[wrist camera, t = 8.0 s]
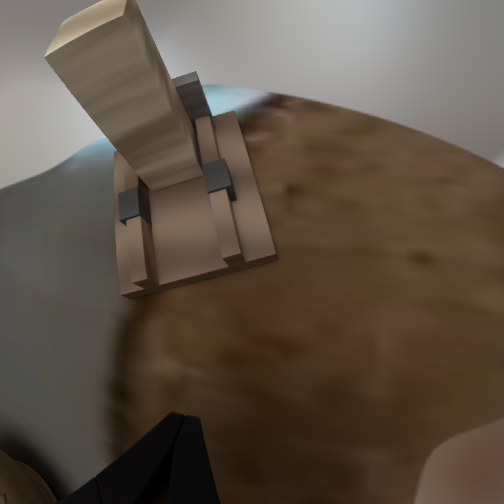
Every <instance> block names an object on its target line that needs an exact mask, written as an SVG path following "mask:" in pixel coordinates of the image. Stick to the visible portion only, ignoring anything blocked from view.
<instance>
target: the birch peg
mask: <svg viewBox="0 0 504 504" xmlns="http://www.w3.org/2000/svg"><path fill="white" fill-rule="evenodd" d="M44 58H45V59H46V61H47V62H48V63H49V65H50V66H51V67H52V68H53V70H54V71H55V72H56V74H57V75H58V76H59V78H60V79H61V80H62V82H63V83H64V84H65V86H66V87H67V88H68V89H69V91H70V92H71V93H72V94H73V96H74V97H75V98H76V100H77V101H78V102H79V103H80V105H81V106H82V107H83V108H84V110H85V111H86V112H87V113H88V115H89V116H90V117H91V118H92V120H93V121H94V122H95V123H96V125H97V126H98V127H99V128H100V130H101V131H102V132H103V133H104V135H105V136H106V137H107V138H108V139H109V141H110V142H111V143H112V144H113V146H114V147H115V148H116V149H117V150H118V152H119V153H120V154H121V155H122V156H123V158H124V159H125V160H126V161H127V162H128V164H129V165H130V166H131V167H132V168H133V170H134V171H135V172H136V173H137V174H138V176H139V177H140V178H141V179H142V180H143V182H144V183H145V184H146V185H147V186H148V187H149V189H150V190H151V191H152V192H154V191H157V190H159V189H162V188H165V187H168V186H171V185H174V184H178V183H181V182H184V181H187V180H190V179H193V178H196V177H200V176H203V175H204V173H203V167H202V161H201V156H200V151H199V145H198V140H197V134H196V132H195V130H194V128H193V126H192V124H191V121H190V119H189V117H188V115H187V113H186V110H185V108H184V106H183V104H182V102H181V99H180V97H179V95H178V93H177V91H176V88H175V86H174V84H173V82H172V80H171V77H170V75H169V73H168V71H167V69H166V66H165V64H164V62H163V60H162V58H161V56H160V53H159V51H158V49H157V47H156V44H155V42H154V40H153V38H152V36H151V34H150V31H149V29H148V27H147V25H146V23H145V20H144V18H143V16H142V14H141V11H140V9H139V7H138V5H137V3H136V0H102V1H100V2H98V3H96V4H94V5H92V6H90V7H88V8H86V9H85V10H83V11H81V12H79V13H77V14H75V15H74V16H72V17H70V18H68V19H67V20H65V21H63V22H62V24H61V26H60V28H59V29H58V31H57V33H56V35H55V37H54V38H53V40H52V42H51V44H50V46H49V48H48V50H47V52H46V54H45V56H44Z"/></svg>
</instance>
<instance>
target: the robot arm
mask: <svg viewBox="0 0 504 504" xmlns="http://www.w3.org/2000/svg"><path fill="white" fill-rule="evenodd" d="M54 504H220V500H219V497H218V493H217V489H216V485H215V482H214V478H213V474H212V470H211V466H210V462H209V458H208V453H207V449H206V445H205V440H204V436H203V432H202V427H201V422H200V419H199V417H195V416H190V415H186V416H185V415H184V414H180V413H175V412H171V413H169V414H168V415H167V416H166V417H165V418H164V419H163V420H162V421H160V422H159V423H158V424H157V425H156V426H155V427H154V428H152V429H151V430H150V431H149V432H148V433H147V434H146V435H144V436H143V437H142V438H141V439H140V440H139V441H137V442H136V443H135V444H134V445H133V446H131V447H130V448H129V449H128V450H127V451H126V452H124V453H123V454H122V455H121V456H120V457H118V458H117V459H116V460H115V461H113V462H112V463H111V464H110V465H109V466H107V467H106V468H105V469H104V470H102V471H101V472H100V473H99V474H97V475H96V478H95V477H93V478H92V479H91V480H90V481H88V482H87V483H86V484H85V485H83V486H82V487H80V488H79V489H78V490H76V491H75V492H73V493H72V494H70V495H68V496H67V497H65V498H63V499H62V500H60V501H58V502H56V503H54Z"/></svg>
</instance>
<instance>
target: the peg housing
mask: <svg viewBox="0 0 504 504" xmlns="http://www.w3.org/2000/svg"><path fill="white" fill-rule="evenodd" d="M171 80H172V82H173V84H174V86H175V88H176V91H177V93H178V95H179V97H180V99H181V102H182V104H183V106H184V108H185V110H186V113H187V115H188V117H189V119H190V121H191V124H192V126H193V128H194V130H195V132H196V134H197V140H198V145H199V151H200V156H201V161H202V167H203V173H204V175H203V176H200V177H196V178H193V179H190V180H187V181H184V182H181V183H178V184H174V185H171V186H168V187H165V188H162V189H159V190H157V191H154V192H152V191H151V190H150V189H149V187H148V186H147V185H146V184H145V183H144V182H143V180H142V179H141V178H140V177H139V176H138V174H137V173H136V172H135V171H134V170H133V168H132V167H131V166H130V165H129V164H128V162H127V161H126V160H125V159H124V158H123V156H122V155H121V154H120V153H119V152H118V151H115V152H114V215H115V237H116V252H117V265H118V276H119V286H120V295H121V296H124V297H127V298H129V299H131V298H135V297H139V296H142V295H146V294H150V293H154V292H158V291H162V290H166V289H170V288H174V287H178V286H181V285H185V284H189V283H193V282H197V281H201V280H204V279H208V278H212V277H216V276H220V275H223V274H227V273H231V272H235V271H238V270H242V269H246V268H250V267H253V266H257V265H261V264H265V263H268V262H272V261H276V260H277V255H276V251H275V248H274V244H273V241H272V237H271V233H270V230H269V226H268V223H267V219H266V216H265V212H264V209H263V205H262V202H261V198H260V195H259V191H258V188H257V184H256V181H255V178H254V174H253V171H252V167H251V164H250V160H249V157H248V154H247V150H246V147H245V144H244V140H243V137H242V134H241V130H240V127H239V124H238V120H237V117H236V114H235V111H231V112H227V113H223V114H220V115H216V116H212V114H211V111H210V108H209V105H208V103H207V100H206V97H205V94H204V92H203V89H202V86H201V84H200V81H199V78H198V75H197V73H196V71H195V72H192V73H189V74H186V75H183V76H180V77H177V78H174V79H171Z"/></svg>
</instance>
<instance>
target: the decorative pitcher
mask: <svg viewBox="0 0 504 504" xmlns="http://www.w3.org/2000/svg"><path fill="white" fill-rule="evenodd" d="M56 502H58V501H57V499H56V497H55V495H54V494H53V492H52V490H51V489H50V487H49V486H48V485H47V483H46V482H45V481H44V480H43V478H42V477H41V476H40V475H39V474H38V473H37V472H36V471H35V470H33V469H32V468H31V467H30V466H28V465H27V464H25V463H23V462H20V461H14V460H13V459H12V458H11V457H10V456H8V455H7V454H6V453H5V452H3V451H2V450H0V504H54V503H56Z"/></svg>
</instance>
